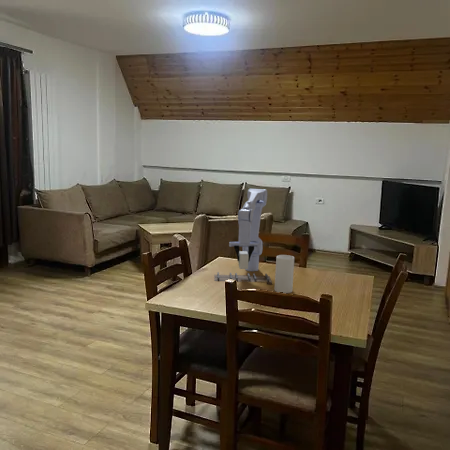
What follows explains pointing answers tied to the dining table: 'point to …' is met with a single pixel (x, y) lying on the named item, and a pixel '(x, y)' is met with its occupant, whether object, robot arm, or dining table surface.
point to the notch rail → (243, 278)
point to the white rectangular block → (243, 259)
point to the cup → (284, 273)
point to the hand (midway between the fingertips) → (243, 261)
